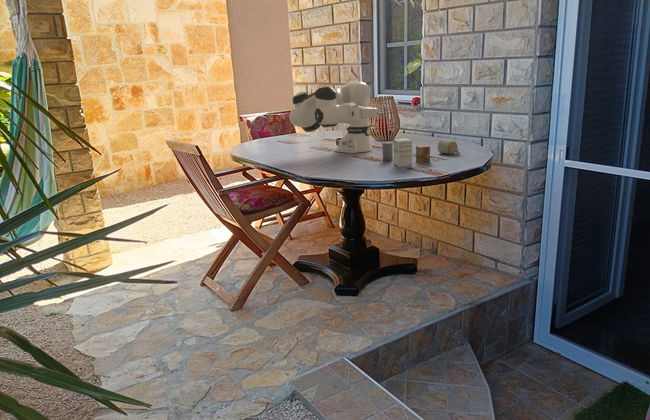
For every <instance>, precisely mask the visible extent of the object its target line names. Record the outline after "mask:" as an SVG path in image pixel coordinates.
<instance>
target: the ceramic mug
mask: <svg viewBox="0 0 650 420" xmlns="http://www.w3.org/2000/svg"><path fill="white" fill-rule="evenodd" d="M437 143H438V144H437V151H438V152H439V153H440V154H444V155H454V154H455V153H459V151H460V150H459V148H458V143H457V142H456V141H454V140H451V139H446V138H441V139H440V140H439V141H438V142H437Z"/></svg>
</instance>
